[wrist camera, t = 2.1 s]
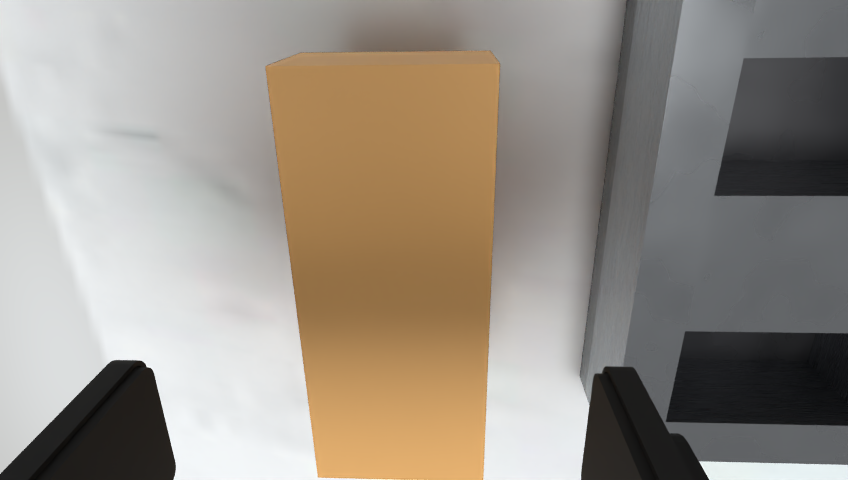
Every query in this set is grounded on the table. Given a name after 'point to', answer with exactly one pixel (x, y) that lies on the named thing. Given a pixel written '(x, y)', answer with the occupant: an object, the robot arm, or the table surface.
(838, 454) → the grey slotted base
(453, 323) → the tan wooden arch block
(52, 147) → the table surface
